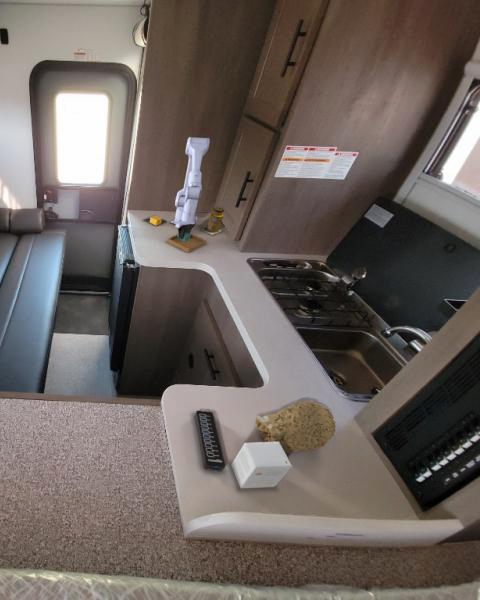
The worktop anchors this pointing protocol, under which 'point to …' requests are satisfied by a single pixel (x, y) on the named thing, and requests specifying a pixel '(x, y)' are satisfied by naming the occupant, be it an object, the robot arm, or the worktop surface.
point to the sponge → (298, 427)
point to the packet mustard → (155, 220)
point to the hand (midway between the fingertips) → (183, 236)
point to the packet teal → (185, 238)
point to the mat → (151, 223)
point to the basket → (187, 243)
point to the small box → (260, 464)
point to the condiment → (214, 221)
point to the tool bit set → (209, 441)
